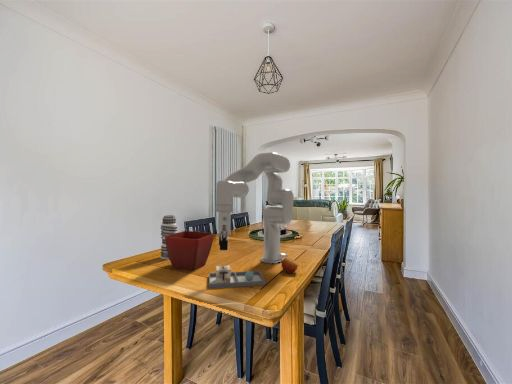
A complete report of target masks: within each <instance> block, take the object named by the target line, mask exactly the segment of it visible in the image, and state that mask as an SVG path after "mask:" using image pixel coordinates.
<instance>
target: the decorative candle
mask: <svg viewBox="0 0 512 384" xmlns="http://www.w3.org/2000/svg"><path fill="white" fill-rule="evenodd" d="M177 229H178V227H177V217H176V216H175V215H174V214H173V215H172V214H171V215H170V214H169V215H166V214H165V215H164V216H163V217H162V223H161V225H160V230H161V231H160V236H161V245H160V248H161V249H160V250H161V251H160V256H161V257H160V259H161V260H170V259H169V255H168V252H167V247H166V242H165V236H168V235H171V234H175V233H176V232H178V230H177Z"/></svg>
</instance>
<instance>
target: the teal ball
mask: <svg viewBox="0 0 512 384" xmlns="http://www.w3.org/2000/svg"><path fill="white" fill-rule="evenodd" d="M253 277H254V274H253V272H252V270H247V272H246V273H245V278H246V279H247V280H252V279H253Z"/></svg>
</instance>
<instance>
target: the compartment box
mask: <svg viewBox="0 0 512 384" xmlns="http://www.w3.org/2000/svg"><path fill="white" fill-rule="evenodd" d="M247 271H248V270H247ZM247 271H231V277H230V283H216V272H209V273H208V289H219V288H220V289H221V288H222V289H223V288H237V287H238V288H240V287H255V286H266V285H267V282H266V279H265V277H264V276H263V274H262V272H261V271H260V270H253V271H252V270H251V271H252V272H253V274H254V277H253V279H252V280H247V279H246V278H245V273H246V272H247Z"/></svg>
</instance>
